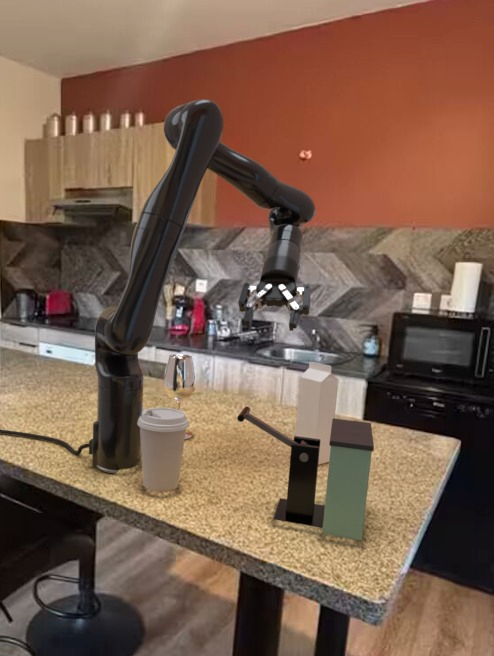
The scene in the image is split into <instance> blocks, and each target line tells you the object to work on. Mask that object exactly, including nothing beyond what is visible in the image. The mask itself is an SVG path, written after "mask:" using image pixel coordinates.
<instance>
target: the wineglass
mask: <svg viewBox="0 0 494 656" xmlns="http://www.w3.org/2000/svg"><path fill="white" fill-rule="evenodd" d="M162 384H163V385H162V386H163V387H162V389H163V391H164V393H165V395H166V396H167V397H168V398H169V399H170V400H171V401H173V402H175V406H176V409H178V410H181V409H180V408H181V404H182V403H183V402H185V401H187V400H189V399H190V398H191V397H192V395H193V394H194V392H195V390H196V374H195V366H194V361H193V357H192V355H191V354H190V355H189V354H184V353H183V354H182V353H175V354H170V355H168V359H167V363H166V366H165V371H164V376H163V382H162ZM192 437H193V434H192V433H191V432H190V431H188V430H186V433H185V440H188V439H190V438H191V439H192Z"/></svg>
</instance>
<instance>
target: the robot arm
mask: <svg viewBox="0 0 494 656" xmlns="http://www.w3.org/2000/svg"><path fill="white" fill-rule="evenodd" d="M224 122H225V121H224V116H223V113H222V110H221V108H220V106H219V105H218V104H217V103H216V102H215V101H213V100H210V99H207V98H203V99H196V100H192V101H189V102H186V103H184V104H181V105H177V106H176V107H175V108H173V109H171V110H170V111H169V112H168V113H167V114H166V116H165V119H164V122H163V134H164V137H165V140H166V141H167V143H168V145H169V146H170V148H172V149H173V150H174V151H175V152H174V155H173V157H172V159H171V162H170V164H169V166H168V168H167V170H166V171H165V173H164V174H163V176H162V177H161V178H160V180H159V181H158V183H157V184H156V185H155V187H154V188H153V190H152V191H151V192H150V194H149V195H148V197H147V198H146V200H145V202H144V203H143V206H142V208H141V209H140V212H139V216H138V218H137V221H136V224H135V227H134V230H133V233H132V238H131V241H130V242H131V243H130V244H131V245H130V251H129V252H130V253H129V254H130V255H129V268H128V276H127V280H126V283H125V287H124V290H123V292H122V295H121V297H120V300H119V302H118V304H117V305H111V306H108V307H107V308H105V309H103V310H102V311H101V313H99V315H98V318H97V319H96V323H95V328H94V365H95V372H96V376H97V407H96V408H97V410H96V411H97V412H96V414H97V415H96V420H95V421H94V422H93V424H92V438H91V439H89V440H88V443H83V444H81V445H80V446H79V447H78V449H77V450H75V449H74V448H73V447H72V446H71V445H70V444H69V443H68V442H66V441H65V440H61V439H58V438H57V437H51V436H46V435H40V434H35V433H29V432H23V431H15V430H14V431H13V430H7V429H0V434H3V435H11V436H20V437H25V438H26V437H27V438H33V439H38V440H43V441H49V442H54V443H57V444H60V445H62V446H64V447H65V448H66V450H68V451H69V452H70V453H71V454H73V455H75V456H79V455H80V454H81V453H82V451H83V450H84V449H88V455H92V459H91V461H92V465H91V467H92V468H95V469H97V470H99V471H101V472H104V473H108V474H117V473H118V472H119V471H120V470H127V469H132V468H136V467H137V466H139V465H140V464H141V463H142V457H141V438H140V427H139V426H138V425H137V422H138V419H139V417H140V416H141V414H142V412H143V411H144V410H143V409H144V406H143V404H144V372H143V370H142V368H141V365H140V362H139V353H140V352H141V351H142V350H143V349H144V348H145V347H146V346H147V344H148V342H149V340H150V337H151V334H152V331H153V326H154V323H155V319H156V315H157V312H158V311H157V310H158V307H159V303H160V298H161V295H162V292H163V289H164V287H165V283H166V281H167V278H168V276H169V274H170V270H171V268H172V264H173V262H174V259H175V256H176V254H177V252H178V249H179V246H180V243H181V241H182V238H183V235H184V232H185V229H186V226H187V223H188V220H189V216H190V214H191V211H192V208H193V206H194V203H195V201H196V198H197V195H198V193H199V189H200V186H201V183H202V181H203V178H204V176H205V174H206V171H207V170H209V171H211V172H212V173H214V174H215V175H217V176H219V177H220V178H221V179H223V180H224V181H225V182H226V183H228V184H230V185H231V186H232V187H234V188H235V189H237V190H238V191H239V192H240V193H241V194H242V195H244V196H245V198H247V199H248V200H250V202H252V203H253V204H254V205H256V206H257V207H258V208H260V209H262V210H269V212H268V214H267V220H268V221H267V222H268V226H269V233H270V237H269V242H268V247H267V250H266V252H265V256H264V261H263V265H262V270H261V275H260V279H259V283H258V284H257V285H250V283H249V282H243V285H242V289H241V292H240V295H239V299H238V301H237V304H238V308H239V311H240V312H242V313H243V312H244V315H243V323H244V326H246V329H252V324H253V320H254V313H256V312H257V311H258V310H259V311H260V310H261V309H263V308H264V307H265V306H267V307H280V308H282V307H283V306H285V308H286V309H287V310H288V311H289V312H290V315H289V322H288V331H289V332H293V331H294V329H297V328H298V324H299V319H300V316H302V315H304V316H308V315H309V314H310V310H311V309H310V308H311V296H312V295H311V285H310V284H305V285H304V286H302V287H298V286H297V282H298V277H299V271H300V268H301V265H300V264H301V252H302V246H303V239H304V235H303V234H304V233H303V231H302V230H301V228H300V227H302V226H304V225H306V224H307V223H309V222H311V221H312V220H313V219H314V218H315V216H316V210H317V209H316V204H315V201H314V200H313V198H312V197H311V196H310V195H309V194H308V193H306V191H303V190H302V189H300V188H298V187H296V186H293V185H291V184H289V183H286V182H283V181H281V180H279V178H277V177H276V176H275V175H274V174H273V173H272V172H271V171H270V170H268V169H267V168H266V167H265V166H264V165H262V164H261V163H259V161H257V160H254V159H253V158H251V157H248V156H246V155H245V154H243V153H240V152H238V151H236V150H235V149H233V148H230V147H229V146H228V145H226V144H224V143H223V142H222V141H221V140H222V137H223V132H224ZM255 293H256V294H255ZM253 294H255V295H254V296H253ZM297 295H299V297H300V298H301V299H302V304H300V305H299V304H298V303H297V302H296V300H295V297H296V296H297ZM252 296H253V297H252ZM251 297H252V299H250V298H251ZM249 300H250V301H249Z"/></svg>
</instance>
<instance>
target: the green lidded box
mask: <svg viewBox="0 0 494 656" xmlns="http://www.w3.org/2000/svg"><path fill="white" fill-rule="evenodd" d="M329 445H330V446H331V448H330V458H329V462H328V470H327V479H326V480H327V481H326V491H325V500H324V506H325V510H324V520H323V528H322V530H321V535H327V536H332V537H339V538H344V539H350V540H354V541H363V536H364V535H363V534H364V528H365V527H364V526H365V516H366V507H367V498H368V490H369V482H370V481H369V480H370V472H371V462H372V453H373V452H374V450H375V449H374V448H375V444H374V437H373V429H372V423H371V422H366V421H358V420H351V419H341V418H335V419H334V418H333V419H332V427H331V435H330V444H329Z"/></svg>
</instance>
